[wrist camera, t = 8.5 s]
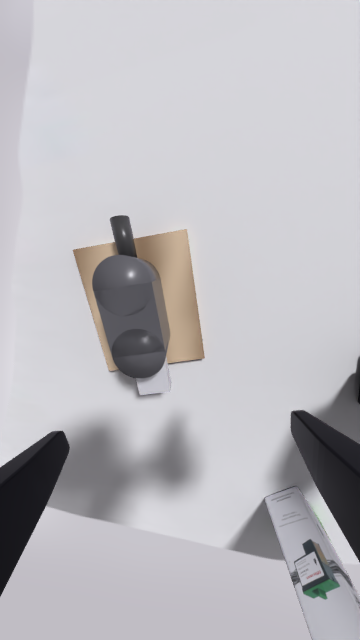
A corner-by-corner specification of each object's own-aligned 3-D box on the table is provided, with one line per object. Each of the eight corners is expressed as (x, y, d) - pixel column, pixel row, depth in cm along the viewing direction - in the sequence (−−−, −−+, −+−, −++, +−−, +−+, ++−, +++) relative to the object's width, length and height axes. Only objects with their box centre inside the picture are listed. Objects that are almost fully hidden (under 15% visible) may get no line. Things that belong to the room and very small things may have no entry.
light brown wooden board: (186, 230, 16) (186, 229, 15) (204, 355, 19) (204, 358, 18) (76, 250, 16) (72, 249, 16) (111, 367, 20) (109, 370, 19)
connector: (149, 219, 15) (135, 199, 11) (177, 373, 19) (175, 405, 15) (102, 227, 15) (70, 211, 11) (140, 378, 19) (127, 410, 15)
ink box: (321, 521, 25) (431, 726, 14) (288, 533, 26) (366, 734, 15) (296, 484, 24) (400, 684, 12) (261, 497, 24) (327, 696, 13)
